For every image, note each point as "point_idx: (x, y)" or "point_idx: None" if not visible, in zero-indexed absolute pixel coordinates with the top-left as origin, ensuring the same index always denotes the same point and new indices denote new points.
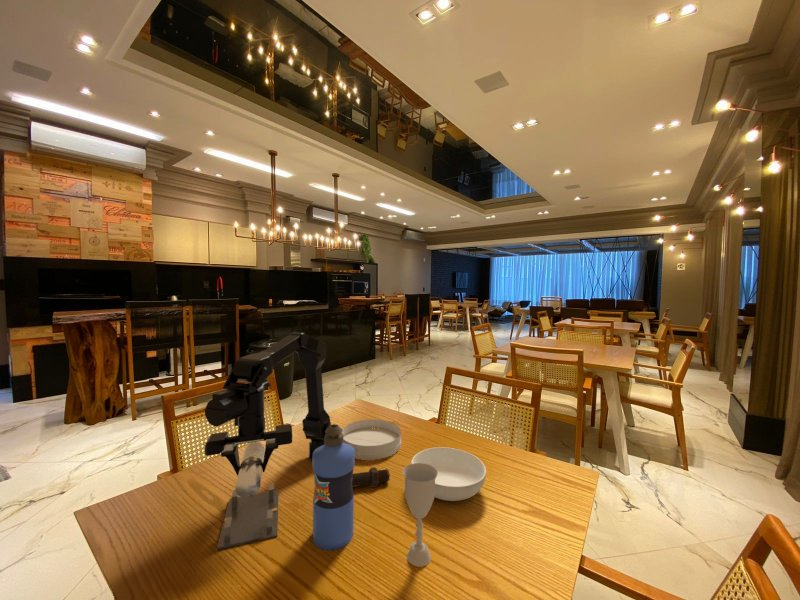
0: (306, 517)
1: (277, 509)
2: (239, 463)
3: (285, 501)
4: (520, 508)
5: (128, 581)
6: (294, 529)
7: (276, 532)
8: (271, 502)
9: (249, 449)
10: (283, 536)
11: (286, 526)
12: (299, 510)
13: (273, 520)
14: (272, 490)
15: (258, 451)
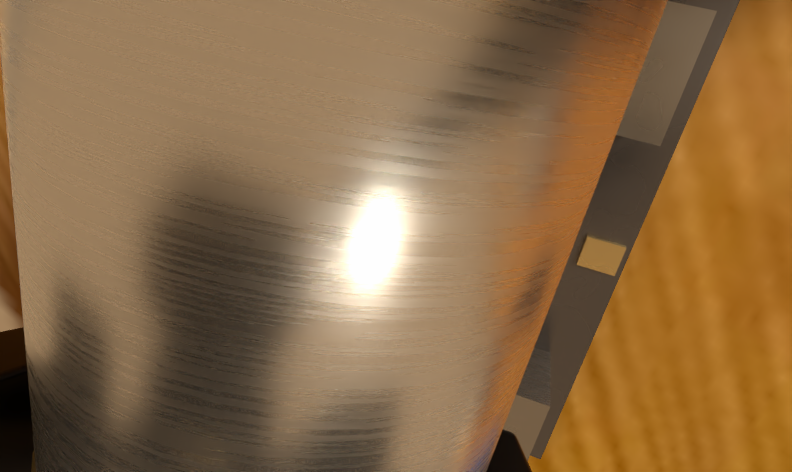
0: (773, 426)
1: (623, 258)
2: (22, 403)
3: (732, 162)
4: None
5: (2, 293)
6: (648, 463)
7: (540, 446)
8: (614, 144)
9: (38, 95)
10: (570, 467)
11: (617, 413)
12: (772, 334)
13: (557, 349)
14: (646, 139)
15: (367, 389)
